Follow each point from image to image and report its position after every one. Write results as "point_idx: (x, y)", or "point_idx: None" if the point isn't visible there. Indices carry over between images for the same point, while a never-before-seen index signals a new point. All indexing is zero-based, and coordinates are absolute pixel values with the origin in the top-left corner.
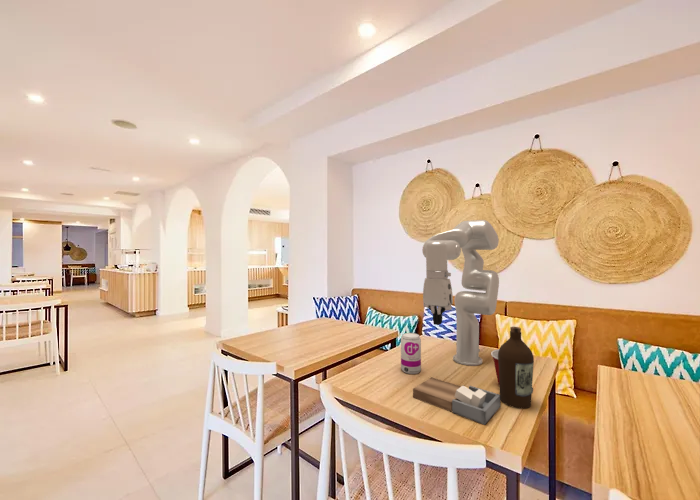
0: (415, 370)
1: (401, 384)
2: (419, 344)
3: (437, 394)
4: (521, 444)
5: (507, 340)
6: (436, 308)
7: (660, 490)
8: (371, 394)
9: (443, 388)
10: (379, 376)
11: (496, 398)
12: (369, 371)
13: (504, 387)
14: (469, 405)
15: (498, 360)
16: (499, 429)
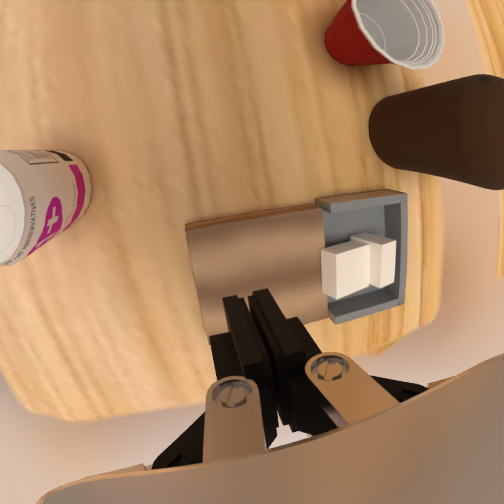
0: (87, 203)
1: (123, 299)
2: (48, 191)
3: None
4: (439, 290)
5: None
6: (260, 433)
7: None
8: (132, 395)
9: (269, 271)
10: (45, 311)
11: (406, 222)
12: (6, 308)
13: (416, 170)
14: (374, 310)
15: (449, 156)
16: (409, 281)
